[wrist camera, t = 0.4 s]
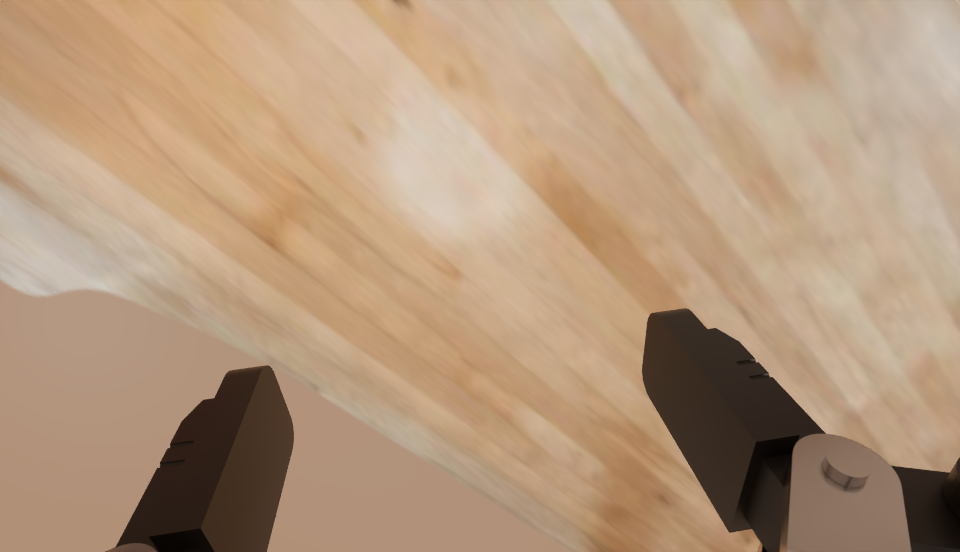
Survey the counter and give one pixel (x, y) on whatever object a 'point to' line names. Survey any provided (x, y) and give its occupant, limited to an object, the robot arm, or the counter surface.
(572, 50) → the counter surface
